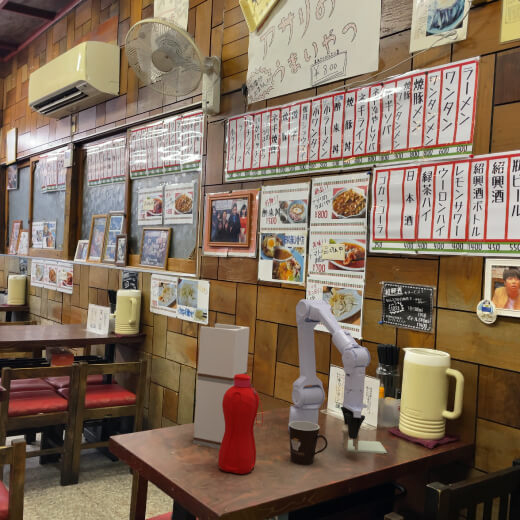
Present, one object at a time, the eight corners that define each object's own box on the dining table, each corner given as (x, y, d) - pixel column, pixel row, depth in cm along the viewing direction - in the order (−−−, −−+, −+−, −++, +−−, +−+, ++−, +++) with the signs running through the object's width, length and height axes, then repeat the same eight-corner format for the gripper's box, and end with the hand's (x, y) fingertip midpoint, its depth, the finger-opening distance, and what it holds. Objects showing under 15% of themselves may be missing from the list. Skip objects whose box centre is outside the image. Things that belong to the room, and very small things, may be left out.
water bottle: (254, 478, 139) (260, 380, 139) (214, 471, 141) (220, 375, 142) (264, 466, 147) (269, 374, 147) (226, 459, 150) (231, 369, 150)
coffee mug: (281, 456, 155) (283, 421, 155) (308, 454, 159) (310, 420, 159) (300, 472, 145) (302, 434, 145) (328, 469, 148) (330, 432, 148)
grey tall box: (242, 440, 167) (249, 327, 167) (227, 450, 157) (235, 330, 157) (209, 434, 171) (216, 323, 171) (193, 443, 161) (200, 326, 162)
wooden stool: (342, 450, 156) (344, 429, 156) (339, 443, 162) (341, 423, 162) (360, 451, 156) (362, 430, 156) (357, 444, 162) (358, 424, 162)
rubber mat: (347, 451, 163) (347, 449, 163) (342, 441, 172) (342, 439, 172) (386, 453, 164) (386, 451, 164) (379, 443, 173) (379, 441, 173)
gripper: (373, 396, 152) (369, 444, 152) (362, 384, 166) (359, 428, 166) (348, 394, 152) (344, 442, 152) (339, 382, 166) (336, 426, 166)
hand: (351, 435), depth 159 cm, fingers closed on wooden stool, 5 cm apart
